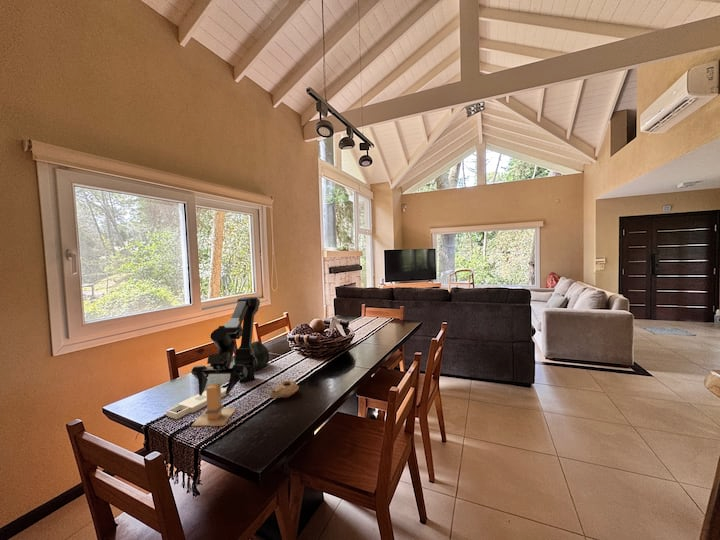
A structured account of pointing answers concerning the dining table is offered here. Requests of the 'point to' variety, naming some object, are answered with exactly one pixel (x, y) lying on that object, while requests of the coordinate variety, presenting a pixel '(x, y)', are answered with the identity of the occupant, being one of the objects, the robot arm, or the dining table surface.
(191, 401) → the power strip
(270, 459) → the dining table surface
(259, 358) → the squash
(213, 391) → the tan tall block
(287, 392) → the pottery oil lamp
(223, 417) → the cork mat
